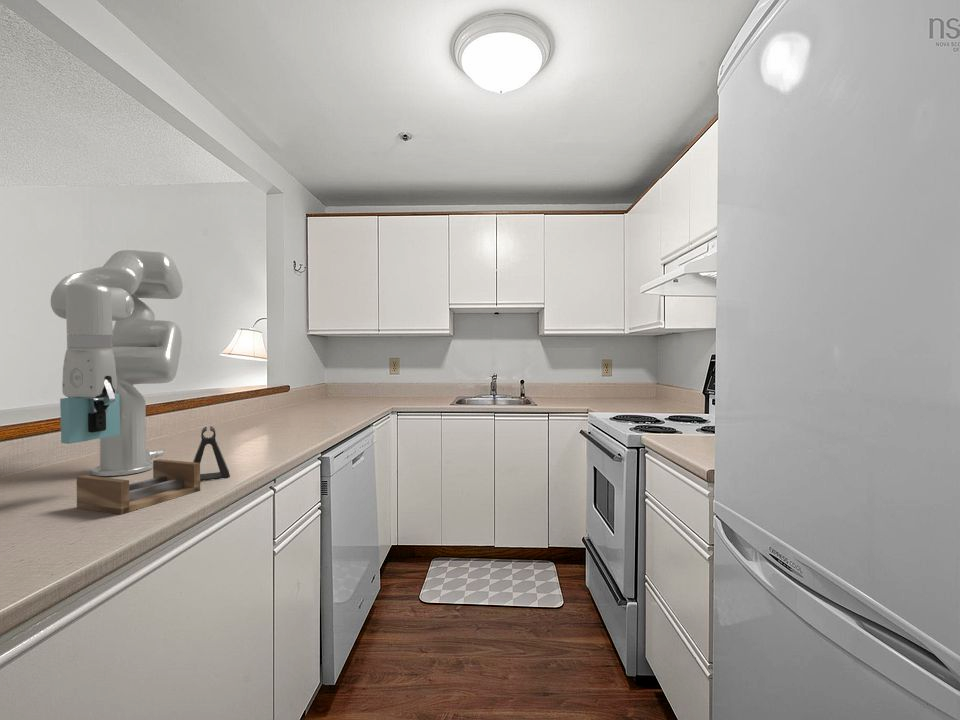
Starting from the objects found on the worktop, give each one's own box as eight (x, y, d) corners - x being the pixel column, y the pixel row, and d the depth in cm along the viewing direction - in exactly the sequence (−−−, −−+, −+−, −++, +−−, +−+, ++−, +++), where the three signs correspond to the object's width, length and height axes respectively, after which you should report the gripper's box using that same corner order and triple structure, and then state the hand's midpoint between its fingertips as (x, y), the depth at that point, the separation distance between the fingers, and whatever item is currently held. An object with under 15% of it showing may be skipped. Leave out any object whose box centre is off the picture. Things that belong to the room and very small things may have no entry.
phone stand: (229, 472, 123) (229, 425, 123) (229, 477, 118) (229, 428, 118) (187, 476, 119) (187, 427, 119) (186, 482, 113) (186, 430, 113)
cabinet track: (159, 485, 110) (159, 459, 110) (200, 490, 107) (200, 462, 107) (76, 507, 94) (76, 476, 94) (121, 514, 91) (120, 482, 90)
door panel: (112, 433, 108) (111, 393, 108) (120, 434, 107) (119, 394, 107) (61, 442, 99) (60, 398, 98) (69, 443, 98) (68, 399, 98)
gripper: (43, 343, 101) (46, 431, 102) (98, 344, 96) (100, 437, 97) (83, 342, 108) (85, 425, 109) (135, 344, 103) (137, 430, 104)
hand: (92, 430), depth 103 cm, fingers closed on door panel, 2 cm apart
